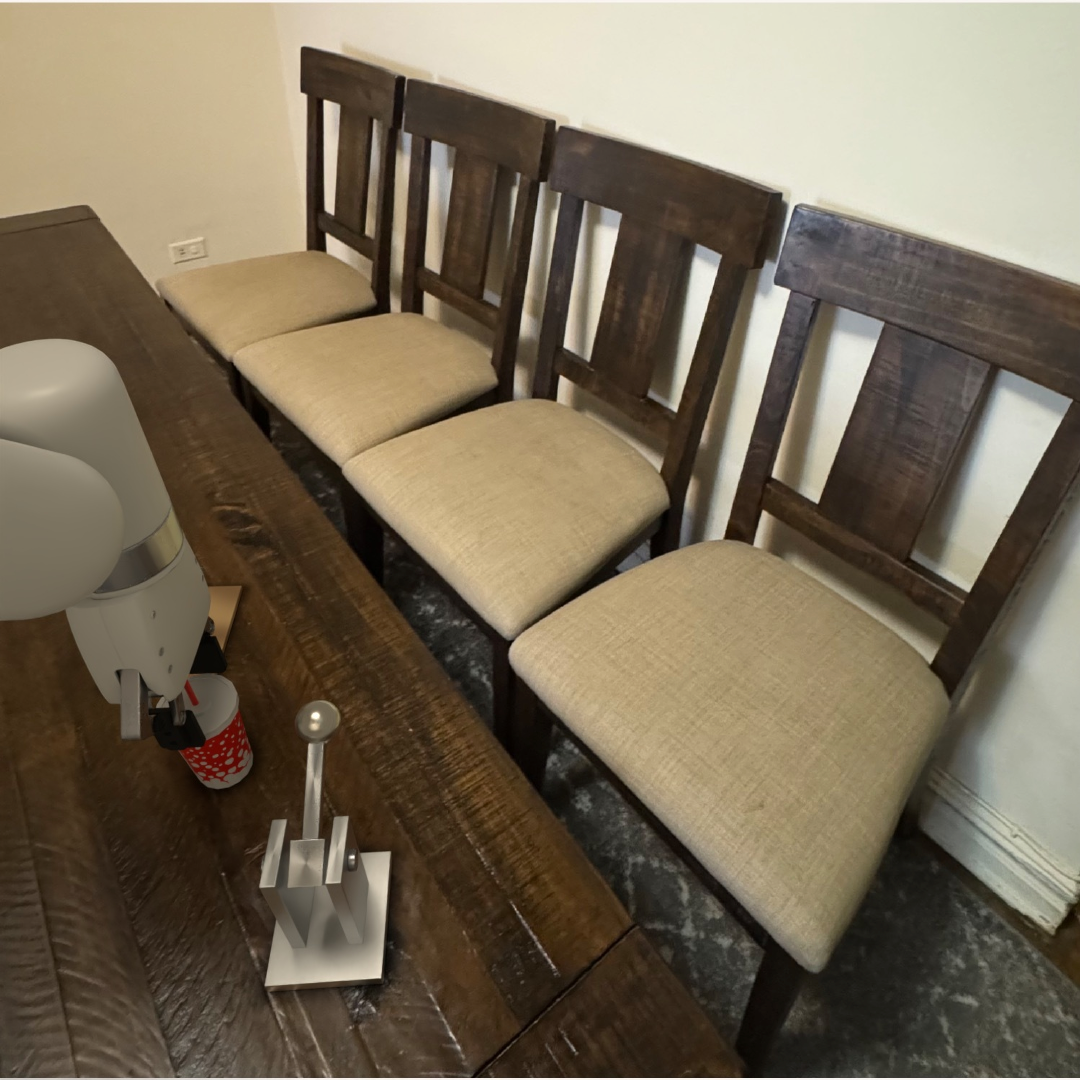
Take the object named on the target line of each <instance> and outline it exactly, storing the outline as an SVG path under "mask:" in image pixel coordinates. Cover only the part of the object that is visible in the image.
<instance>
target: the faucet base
mask: <svg viewBox="0 0 1080 1080" xmlns="http://www.w3.org/2000/svg"><path fill="white" fill-rule="evenodd" d="M269 829H270V830H269V834H268V840H267V844H266V849H265V853H264V854H263V855H262V858H261V860H260V861H261V862H260V880H259V884H258V889H259V891H260V892H261V895H262V897H263V898H264V900H265V901H266V904H267V905H268V908H269V909H270V911H271V912H272V914H273V916H274V918H275V924H274V928H273V929H274V930H273V934H272V940H271V946H270V951H269V958H268V963H267V968H266V973H265V974H266V975H265V980H264V988H265V990H266V991H267V992H284V991H298V990H311V989H324V988H325V989H326V988H327V989H328V988H341V987H353V986H354V987H355V986H368V985H383V984H384V980H385V966H386V953H387V952H386V951H387V939H388V925H389V913H390V897H391V883H392V871H393V854H392V851H391V850H389V851H369V852H361V851H360V849H359V845H358V842H357V838H356V835H355V833H354V828H353V824H352V822H351V818H350V816H349V815H339V816H336V815H335V816H334V817H333V821H332V828H331V836H330V839H331V842H330V849H329V857H328V864H327V871H326V879H325V885H324V886H313V887H297V888H287V885H288V870H289V856H290V841H291V840H297V839H296V836H295V833H294V832H293V830H292V826H291V825H290V822H289V820H288V818H285V819H284V818H283V819H281V818H280V819H272V820H271V824H270V828H269Z"/></svg>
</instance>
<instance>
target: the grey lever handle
mask: <svg viewBox="0 0 1080 1080" xmlns="http://www.w3.org/2000/svg"><path fill="white" fill-rule="evenodd" d="M342 726H343V715H342V713H341V711H340V709H339V708H338V707H337V706H336V705H335V703H333V702H331V701H330V700H327V699H314V700H313V699H312V700H310V701H308V702H307V703H304V705H302V706H301V707H300V709H299V710H298V712H297V713H296V715H295V719H294V731H295V733H296V736H297V737H298V738H299V740H300V741H301V742H302V743H304V744H306V745H307V753H306V766H305V767H306V769H305V782H304V783H305V785H304V798H303V814H302V815H303V816H302V832H301V833H302V834H301V839H296V840H291V841H290V856H289V870H288V885H287V888H297V887H313V886H324V885H325V879H326V871H327V864H328V857H329V849H330V842H331V838H323V837H322V836H323V822H324V821H323V820H324V819H323V818H324V801H325V782H326V766H327V765H326V762H327V745H328V744H330V743H332V742H333V741H334V740H335V739H336V738H337V737H338V736H339V734H340V732H341V731H342Z"/></svg>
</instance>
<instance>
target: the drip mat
mask: <svg viewBox="0 0 1080 1080" xmlns="http://www.w3.org/2000/svg"><path fill="white" fill-rule="evenodd" d="M208 589H209V593H210V597H211V604H210V611H209V615H208V616H209V617H210V618H211V619H212V620H213V621H214V624H215V630H214V633H213V635H210V636H216V637H217V639H218V642H219V644H220V647H221V649H222V652H223V654H224V653H225V650H226V647H227V645H228V640H229V637H230V634H231V631H232V627H233V623H234V620H235V617H236V613H237V610H238V607H239V604H240V600H241V597H242V594H243V591H244V588H243V586H242V585H217V586H208ZM224 655H225V654H224ZM210 674H215V675H219V673H210ZM193 675H200V674H189V675H188V677H191V676H193Z"/></svg>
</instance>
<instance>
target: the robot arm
mask: <svg viewBox="0 0 1080 1080" xmlns="http://www.w3.org/2000/svg"><path fill="white" fill-rule="evenodd" d="M138 417H139V416H137V413H136V410H135V407H134V405H133V403H132V400H131V397H130V395H129V392H128V390H127V387H126V385H125V383H124V381H123V379H122V377H121V374H120V372H119V370H118V368H117V366H116V365H115V363H114V362H113V360H111V358H109V356H108V355H106V354H105V353H104V352H103V351H101V350H100V349H98V348H97V347H96V346H93V345H91V344H88V343H85V342H83V341H78V340H74V339H67V338H44V339H35V340H29V341H24V342H19V343H15V344H11V345H9V346H5V347H3V348H0V622H2V621H3V622H4V621H6V622H7V621H25V620H33V619H39V618H44V617H47V616H50V615H53V614H57V613H60V612H62V611H64V612H65V615H66V618H67V622H68V625H69V628H70V631H71V633H72V636H73V639H74V641H75V644H76V646H77V649H78V650H79V651H78V652H79V653H80V655H81V657H82V659H83V661H84V664H85V666H86V668H87V670H88V672H89V674H90V675H91V678H92V680H93V681H94V684H95V685H96V687H97V689H98V690H99V692H100V694H101V695H102V696H103V698H104V699H105V700H106V701H107V703H109V704H111V705H120V738H121V741H123V742H136V741H145V740H147V739H149V738H151V737H154V739H155V740H156V742H157V743H158V746H159V747H160V748H162V749H166V750H168V751H171V752H172V751H178V752H179V750H185V749H186V748H194V747H203V746H204V745H205V741H206V737H205V735H204V733H203V731H202V729H201V727H200V725H199V723H198V721H197V719H196V717H195V715H194V713H193V711H191V710H185V705H184V700H183V694H182V690H183V688H184V686H185V683H186V681H187V678H188V675H189V674H208V673H209V674H210V673H218V674H223V673H224V672H227V669H228V666H229V664H228V661H227V659H226V656H225V654H223V652H222V649H221V647H220V644H219V642H218V639H217V637H216V636H210V635H213V633H214V630H215V624H214V621H213V620H212V619H211V618H210V617H209V616H208V615H209V611H210V604H211V597H210V593H209V589H208V587H209V586H208V583H207V580H206V578H205V569H204V567H203V566H202V565H200V563H199V561H198V560H197V557H196V555H195V553H194V551H193V548H192V547H191V545H190V543H189V541H188V540H187V538H186V535H185V532H184V530H183V528H182V526H181V523H180V520H179V518H178V515H177V513H176V511H175V508H174V506H173V502H172V501H171V498H170V495H169V492H168V490H167V488H166V485H165V482H164V480H163V478H162V475H161V473H160V470H159V468H158V465H157V463H156V460H155V458H154V454H153V452H152V450H151V447H150V445H149V442H148V440H147V437H146V435H145V433H144V429H143V427H142V425H141V423H140V420H139V418H138ZM162 697H164V698H165V699H166V700H167V701H168V704H169V707H165V708H156V707H153V701H152V698H162Z"/></svg>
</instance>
